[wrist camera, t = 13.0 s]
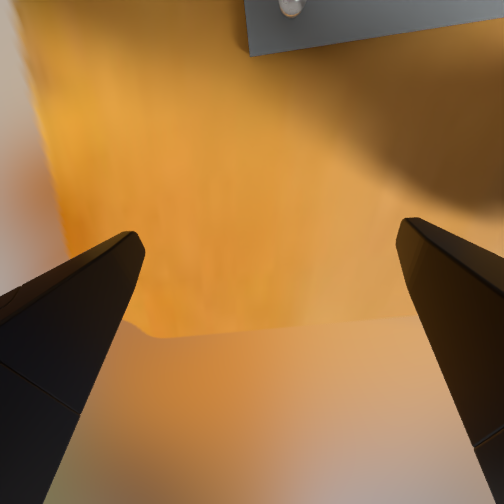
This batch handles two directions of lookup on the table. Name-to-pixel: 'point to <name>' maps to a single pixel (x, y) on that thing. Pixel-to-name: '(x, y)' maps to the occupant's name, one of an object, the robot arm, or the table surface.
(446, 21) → the pin tray
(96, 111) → the table surface
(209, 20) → the table surface
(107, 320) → the robot arm
